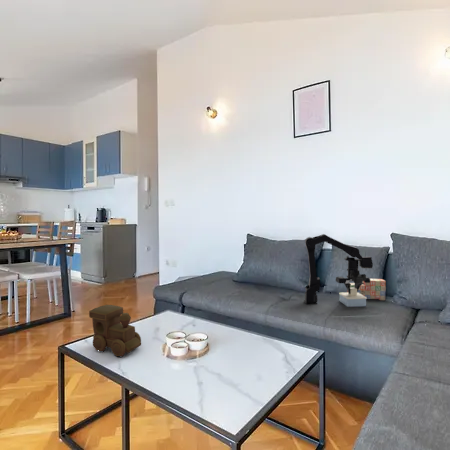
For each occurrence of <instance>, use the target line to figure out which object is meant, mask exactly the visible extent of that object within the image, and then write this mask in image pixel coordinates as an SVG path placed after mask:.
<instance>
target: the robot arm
mask: <svg viewBox="0 0 450 450" xmlns="http://www.w3.org/2000/svg"><path fill="white" fill-rule="evenodd" d="M323 242H325V243H327V244H329V245H331V246H333V247H335V248H337V249H340V250H341V251H342V252H345V253H346V254H347V256H346V257H344V260H345V261H347V268H346V271H347V275H346V277H344V276H336V277H335V282H336V283H338V284H344V286H345V288H346V292H347V291H348V293H349V294H350V285H351V284H350V283H351V282H353V283H355V288H356V289H357V292H358V289H359V287H360V286H361V285H362V284H364V283H363V281H364V282H365V283H370V279H371V277H368V276H367V275H366V274H365V273H362V274H360V270H359V267H360V268H361V269H373V268H374V267H373V265H374V262H373V260H372V259H373V258H372V256H362V254H361V253H360V249H359V248H357V247H356V246H353V245H350V244H346V243H343V242H341V241H339V240H337V239H335V238H332V237H330V236H328V235H326V234H324V233H323V234H321V235H317V236H312V237H311V236H309V237H306V238H305V239H304V245H305V248H306V251H307V257H308V267H309V268H308V269H309V270H308V271H309V279H308V285H306V286H305V287H304V289H305V291H304V300H303V302H304V303H305V304H306V305H317V304H318V295H317V292H318V291H320V287H321V279H320V277H319V276H318V277H317V267H316V257H315V254H316V251H315V250H316V245H319V244H321V243H323ZM349 256H350V257H349Z"/></svg>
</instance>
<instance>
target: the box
mask: <svg viewBox="0 0 450 450" xmlns="http://www.w3.org/2000/svg"><path fill="white" fill-rule="evenodd" d="M339 302H340V303H342V304H343V305H344V306H345V307H367V299H346V298H345V297H343V296H342V295H340V294H339Z"/></svg>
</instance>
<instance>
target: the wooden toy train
mask: <svg viewBox="0 0 450 450" xmlns="http://www.w3.org/2000/svg"><path fill="white" fill-rule="evenodd" d="M88 314H89V315H88V318H91V319H92V330H93V336H92V337H93V340H92V346H93V348H94V349H95V350H96V351H97V350H99V351H103V352H104V351H105V350H106V349H107V348H108V349H111V352H112V354H113V355H114V356H115V355H116V356H115V357H117V356H122V357H124V355H125V354H126V353H130V352H132V351H134V350H136V349H138V348H139V347H141V346H142V337H141V335H140V334H139V333H138V332H137V331H136V326H134V325H131V324H130V322H131V320H132V316H131V315H130V314H129V313H128V312H124V307H122V306H119V305H114V304H105V305H100V306H97V307H94V308H92V309H91V310H89V311H88Z"/></svg>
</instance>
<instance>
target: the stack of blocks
mask: <svg viewBox="0 0 450 450" xmlns="http://www.w3.org/2000/svg"><path fill="white" fill-rule="evenodd" d="M363 283H364V284H362V285H361V286H360V287H359V289H358V293H360V294H362V295H363V296H365V297H367V299H366V300H379V301H386V289H387V287H386V286H387V285H386V283H387V281H386V280H385V279H382V278H370V283H365V282H364V281H363ZM350 284H351V285H350V288H352V287H354V288H355V283H354V282H350ZM346 292H348V291H347V290H346Z"/></svg>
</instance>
